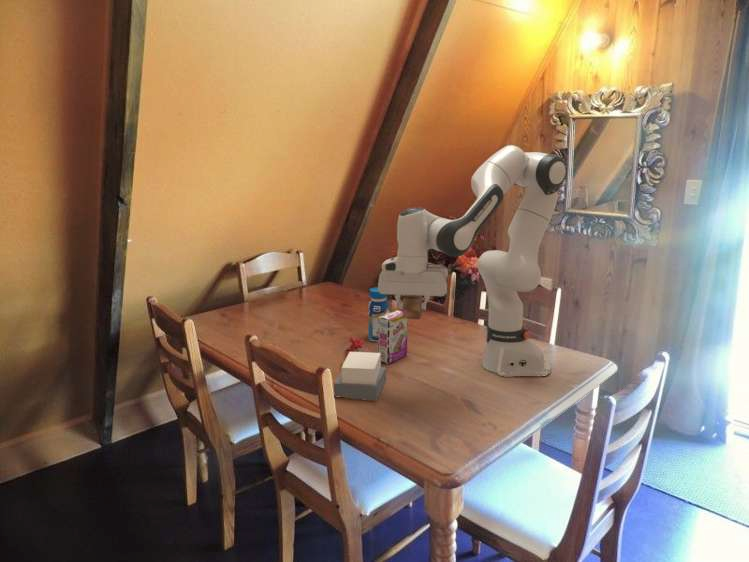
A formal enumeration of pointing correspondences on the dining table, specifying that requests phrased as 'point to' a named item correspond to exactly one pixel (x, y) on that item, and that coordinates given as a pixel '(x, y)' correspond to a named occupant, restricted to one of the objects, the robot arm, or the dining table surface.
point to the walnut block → (412, 306)
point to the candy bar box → (392, 337)
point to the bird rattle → (352, 347)
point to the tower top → (361, 368)
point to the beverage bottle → (376, 312)
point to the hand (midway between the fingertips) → (412, 308)
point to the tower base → (360, 388)
